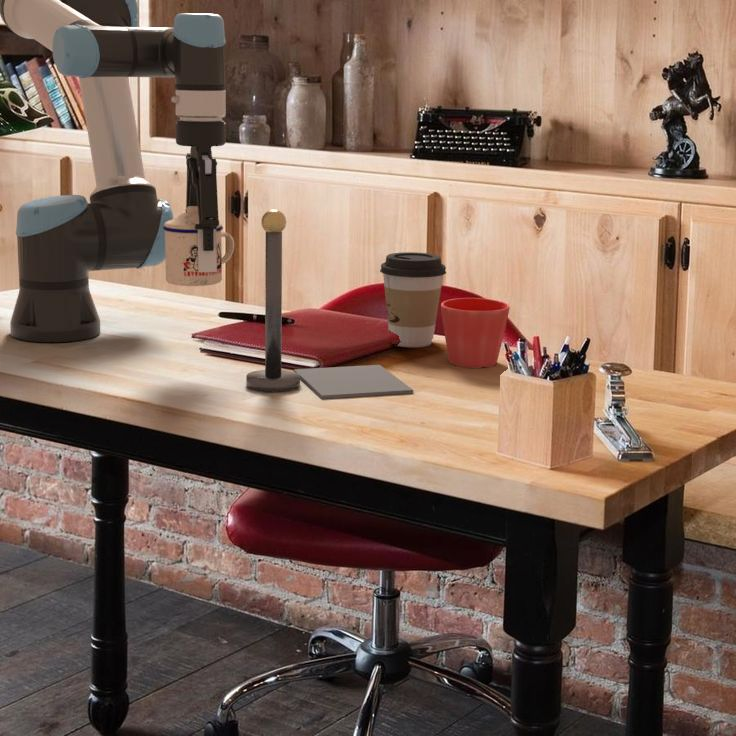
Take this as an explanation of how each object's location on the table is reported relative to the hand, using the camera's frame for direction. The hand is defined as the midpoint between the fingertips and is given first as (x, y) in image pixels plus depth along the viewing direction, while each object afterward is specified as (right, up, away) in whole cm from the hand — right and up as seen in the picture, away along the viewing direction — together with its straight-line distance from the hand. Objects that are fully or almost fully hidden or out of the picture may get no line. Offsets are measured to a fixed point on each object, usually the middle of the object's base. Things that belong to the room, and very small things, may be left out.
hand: (202, 266), depth 207 cm
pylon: (+11, -18, -7) cm, 23 cm away
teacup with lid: (0, -2, +1) cm, 3 cm away
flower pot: (+43, -15, +10) cm, 46 cm away
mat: (+23, -18, -5) cm, 30 cm away
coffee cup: (+33, -12, +23) cm, 42 cm away
